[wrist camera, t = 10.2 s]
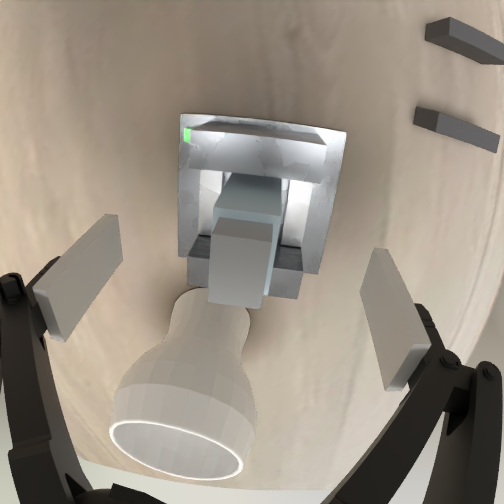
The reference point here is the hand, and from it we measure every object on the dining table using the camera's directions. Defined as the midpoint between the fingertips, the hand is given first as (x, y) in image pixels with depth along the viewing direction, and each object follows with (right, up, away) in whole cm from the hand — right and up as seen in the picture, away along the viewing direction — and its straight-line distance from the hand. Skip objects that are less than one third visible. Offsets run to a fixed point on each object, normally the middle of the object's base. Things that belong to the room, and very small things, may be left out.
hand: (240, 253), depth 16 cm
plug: (+1, +4, +9) cm, 9 cm away
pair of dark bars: (+16, +13, +3) cm, 21 cm away
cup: (-3, -6, +15) cm, 17 cm away
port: (+1, +4, +9) cm, 10 cm away
